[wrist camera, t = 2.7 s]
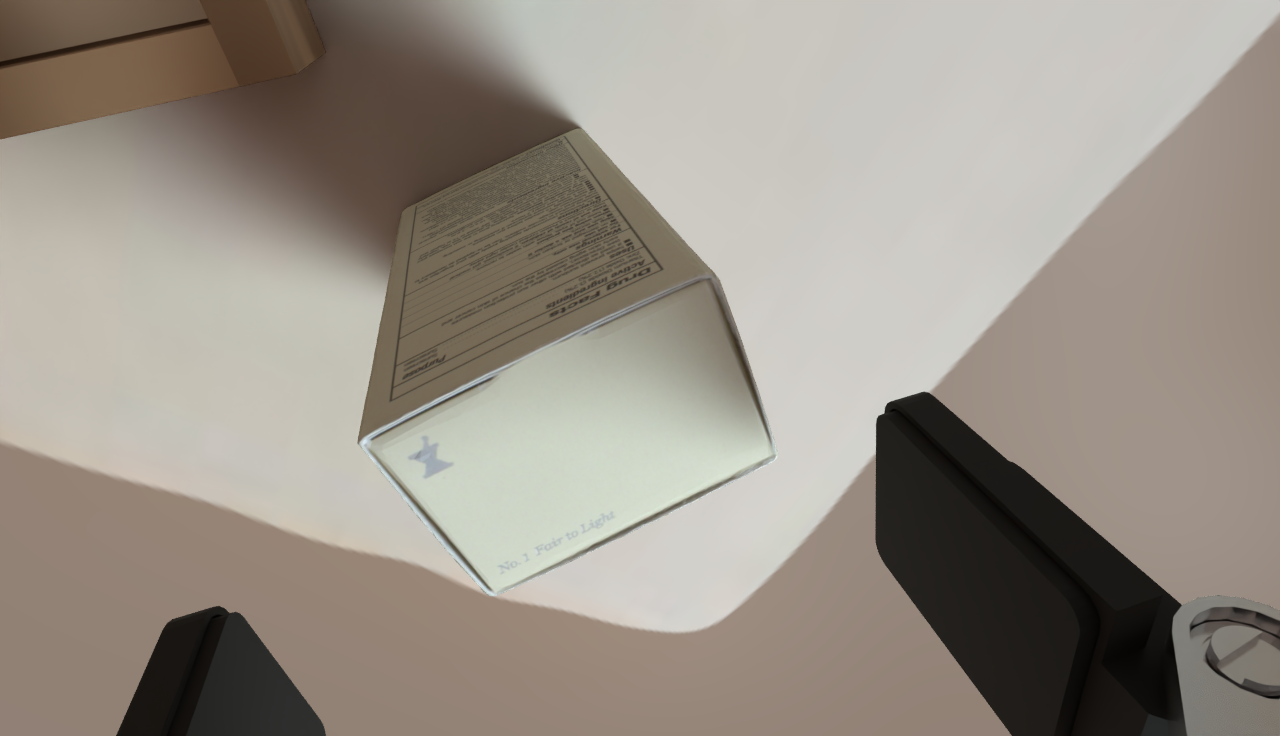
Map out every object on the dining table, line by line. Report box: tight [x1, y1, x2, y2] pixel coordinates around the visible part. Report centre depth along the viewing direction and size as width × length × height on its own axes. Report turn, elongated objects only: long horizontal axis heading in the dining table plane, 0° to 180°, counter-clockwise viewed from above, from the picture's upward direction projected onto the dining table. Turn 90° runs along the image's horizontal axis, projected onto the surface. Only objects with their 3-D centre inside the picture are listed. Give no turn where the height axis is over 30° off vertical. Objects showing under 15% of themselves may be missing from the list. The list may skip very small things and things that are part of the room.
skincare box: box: [358, 128, 778, 596], centre depth 17 cm, size 6×4×12 cm
